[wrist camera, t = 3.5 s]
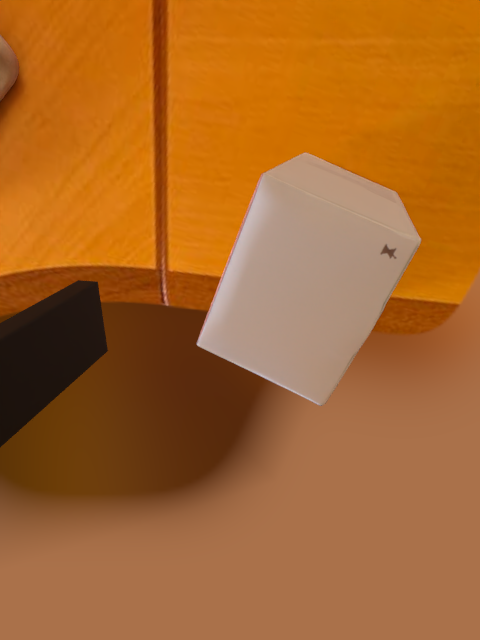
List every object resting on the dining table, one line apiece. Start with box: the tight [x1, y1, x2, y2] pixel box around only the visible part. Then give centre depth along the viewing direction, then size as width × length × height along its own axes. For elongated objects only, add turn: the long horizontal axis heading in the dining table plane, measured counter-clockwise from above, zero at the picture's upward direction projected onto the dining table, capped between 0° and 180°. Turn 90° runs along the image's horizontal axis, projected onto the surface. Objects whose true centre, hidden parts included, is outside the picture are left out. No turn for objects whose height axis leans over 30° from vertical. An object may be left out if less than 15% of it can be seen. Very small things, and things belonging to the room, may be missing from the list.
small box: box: [196, 152, 421, 406], centre depth 23 cm, size 8×6×13 cm
